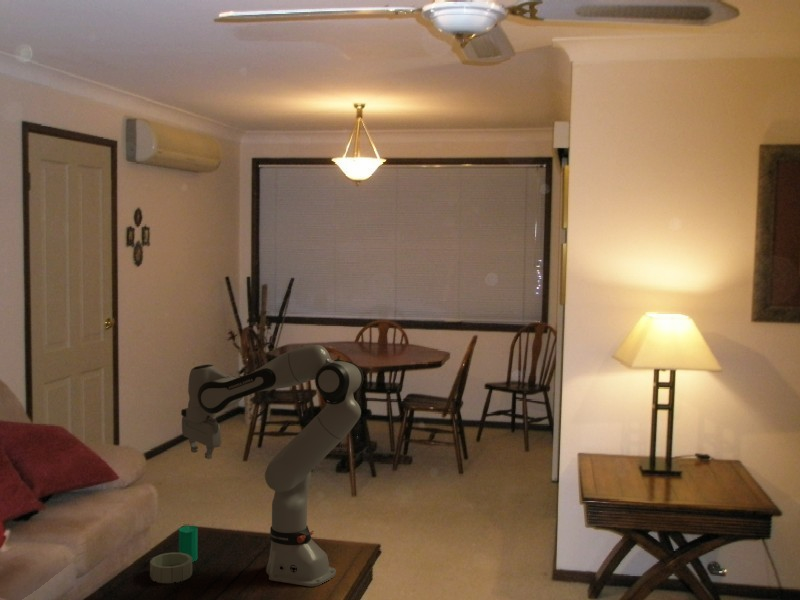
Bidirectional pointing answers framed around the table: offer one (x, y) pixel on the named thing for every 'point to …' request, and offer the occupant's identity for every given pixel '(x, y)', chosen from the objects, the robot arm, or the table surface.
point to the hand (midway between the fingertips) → (201, 455)
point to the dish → (171, 567)
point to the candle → (189, 541)
